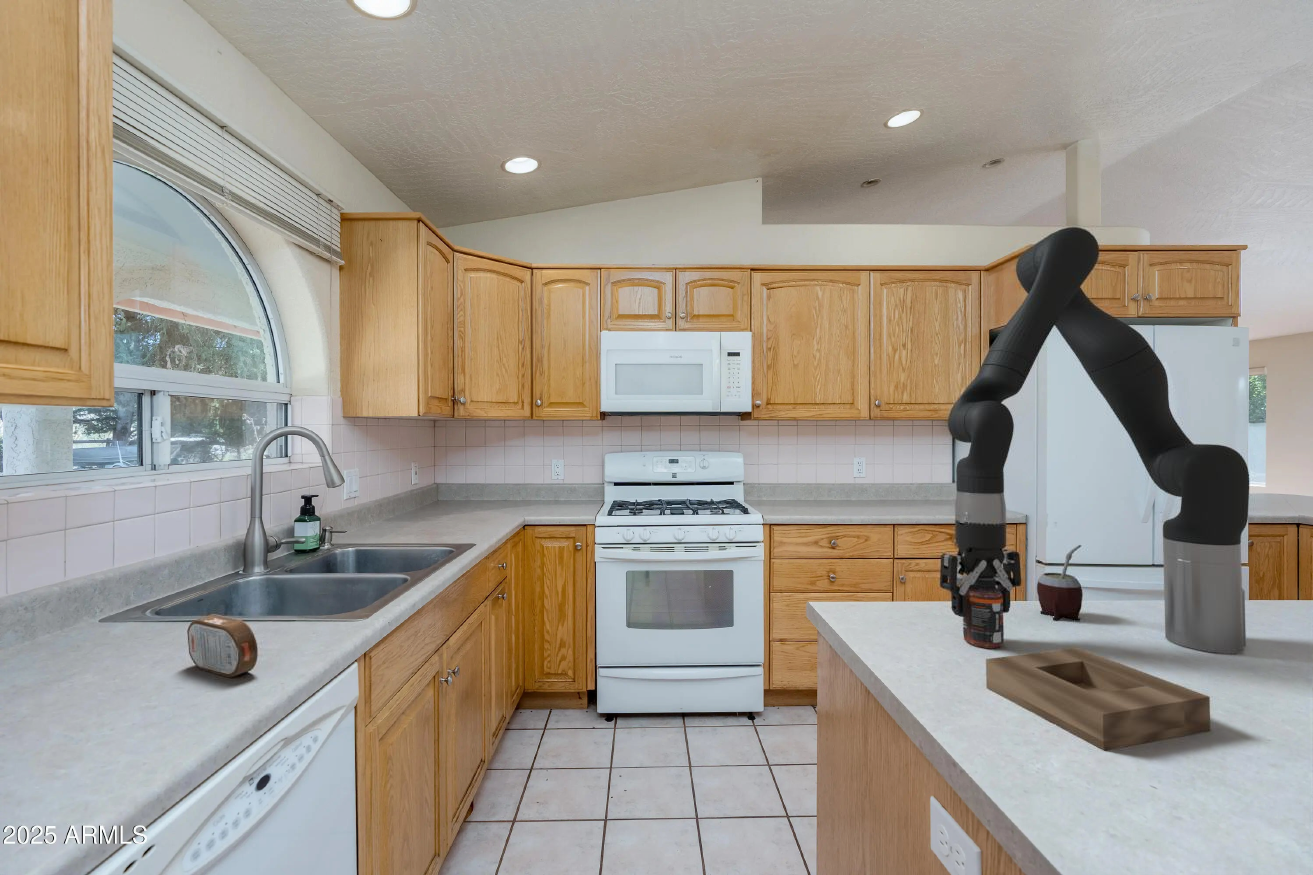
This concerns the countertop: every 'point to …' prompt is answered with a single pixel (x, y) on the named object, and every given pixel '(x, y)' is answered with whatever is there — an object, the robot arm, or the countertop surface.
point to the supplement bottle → (984, 614)
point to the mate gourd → (1060, 593)
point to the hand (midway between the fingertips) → (981, 613)
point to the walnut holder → (1098, 697)
